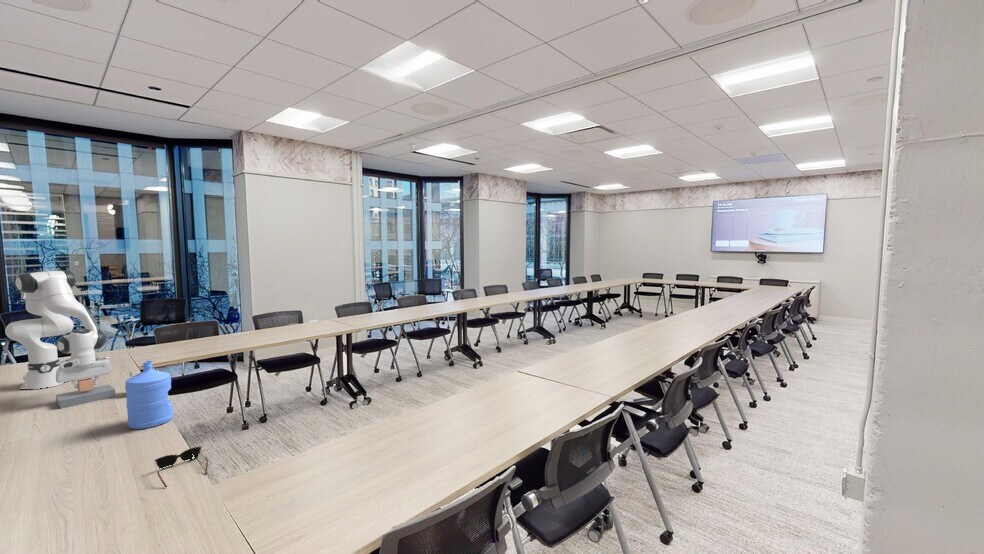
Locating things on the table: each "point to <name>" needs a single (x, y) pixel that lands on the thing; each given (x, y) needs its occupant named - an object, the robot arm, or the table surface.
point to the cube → (85, 384)
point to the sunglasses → (172, 459)
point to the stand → (84, 396)
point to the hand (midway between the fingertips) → (85, 386)
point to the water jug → (148, 398)
